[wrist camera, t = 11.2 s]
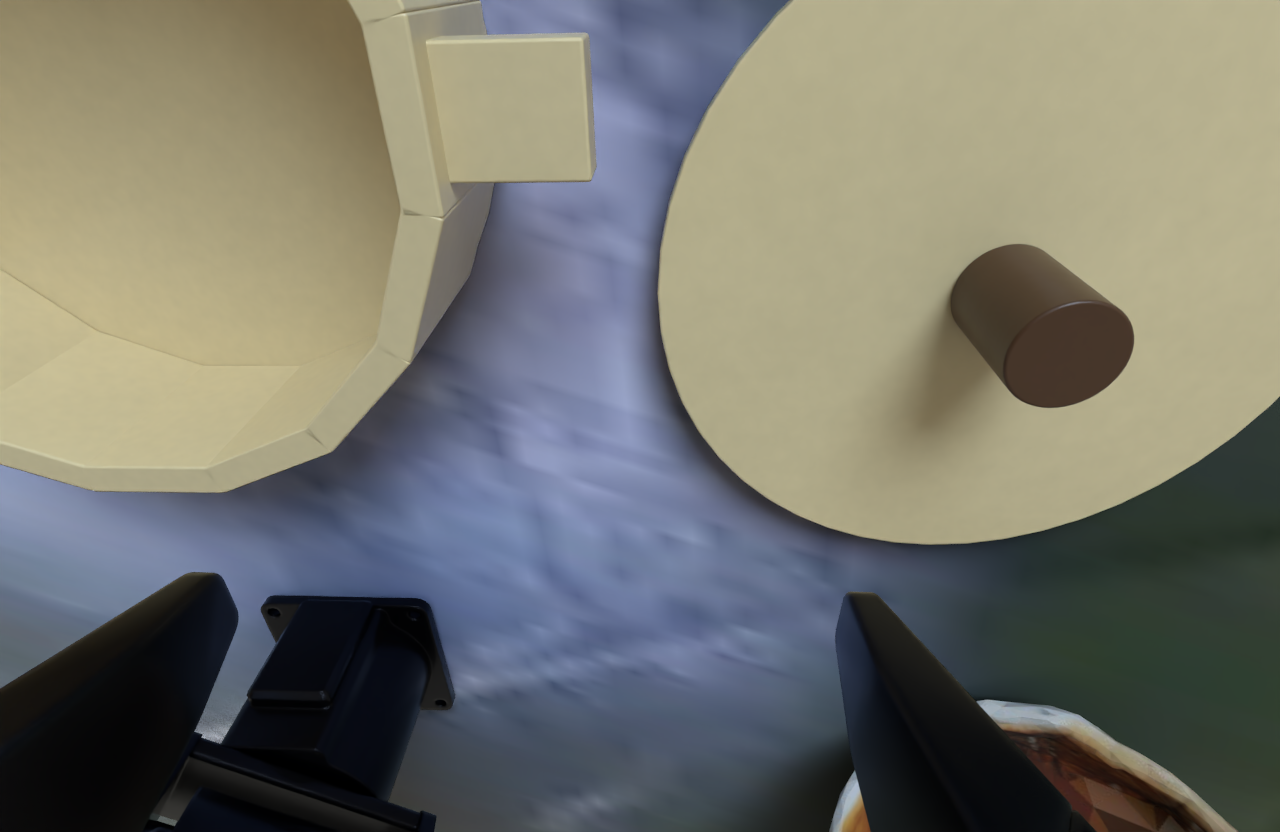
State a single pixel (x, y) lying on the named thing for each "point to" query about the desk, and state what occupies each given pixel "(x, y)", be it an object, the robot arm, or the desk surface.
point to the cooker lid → (979, 257)
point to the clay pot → (1081, 776)
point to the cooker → (247, 218)
